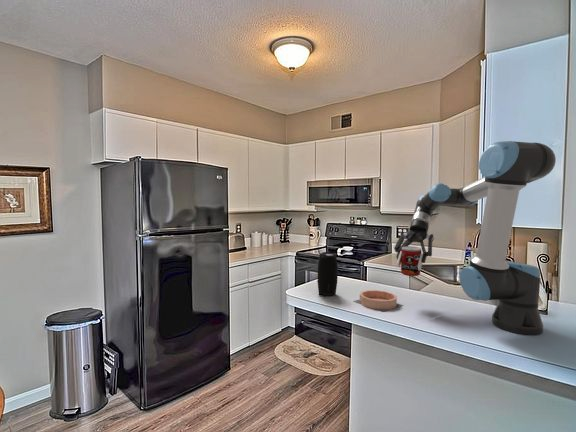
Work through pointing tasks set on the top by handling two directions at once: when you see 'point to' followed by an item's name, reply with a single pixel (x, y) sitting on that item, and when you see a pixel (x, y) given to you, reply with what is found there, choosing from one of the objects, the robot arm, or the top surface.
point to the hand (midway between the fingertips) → (408, 266)
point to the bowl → (378, 299)
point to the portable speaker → (327, 274)
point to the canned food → (410, 260)
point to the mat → (382, 309)
